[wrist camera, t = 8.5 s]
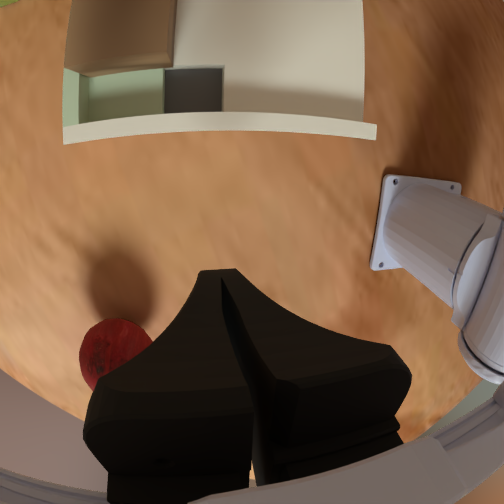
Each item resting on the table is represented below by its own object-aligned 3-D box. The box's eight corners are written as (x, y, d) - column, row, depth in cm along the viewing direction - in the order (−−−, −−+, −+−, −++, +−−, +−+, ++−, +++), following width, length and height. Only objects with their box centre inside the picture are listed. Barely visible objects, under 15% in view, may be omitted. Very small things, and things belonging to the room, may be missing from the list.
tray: (350, -20, 14) (371, -35, 11) (351, 136, 19) (375, 140, 16) (96, -29, 11) (84, -49, 8) (82, 140, 16) (63, 144, 13)
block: (178, -5, 12) (174, -34, 8) (173, 67, 14) (166, 51, 10) (97, 6, 11) (76, -18, 8) (90, 77, 13) (63, 67, 10)
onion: (81, 302, 20) (49, 376, 13) (149, 293, 21) (136, 371, 14) (106, 357, 23) (91, 431, 16) (168, 350, 24) (167, 429, 16)
